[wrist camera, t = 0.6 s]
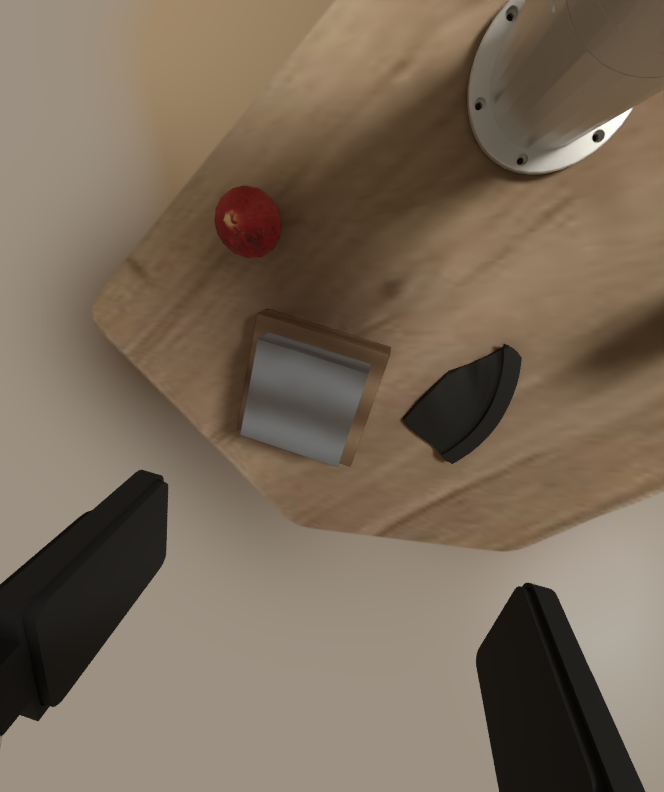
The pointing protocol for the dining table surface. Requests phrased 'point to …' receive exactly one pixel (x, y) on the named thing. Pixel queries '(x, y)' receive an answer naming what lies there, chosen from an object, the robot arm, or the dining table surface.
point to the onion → (248, 221)
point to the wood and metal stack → (309, 387)
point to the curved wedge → (466, 404)
